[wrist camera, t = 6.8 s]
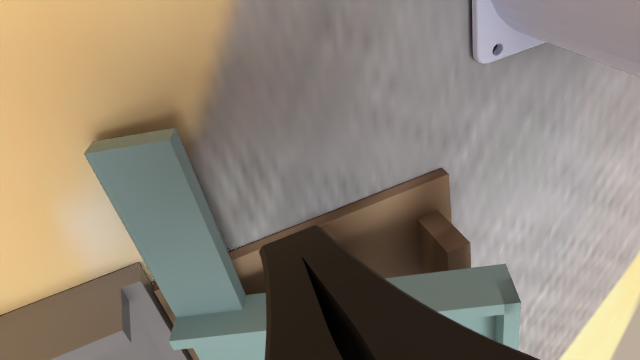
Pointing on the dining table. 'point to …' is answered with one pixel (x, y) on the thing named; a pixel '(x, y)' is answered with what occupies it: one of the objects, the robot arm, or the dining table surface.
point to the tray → (93, 323)
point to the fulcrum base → (376, 235)
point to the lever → (216, 266)
